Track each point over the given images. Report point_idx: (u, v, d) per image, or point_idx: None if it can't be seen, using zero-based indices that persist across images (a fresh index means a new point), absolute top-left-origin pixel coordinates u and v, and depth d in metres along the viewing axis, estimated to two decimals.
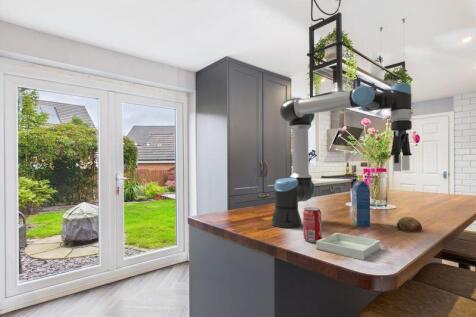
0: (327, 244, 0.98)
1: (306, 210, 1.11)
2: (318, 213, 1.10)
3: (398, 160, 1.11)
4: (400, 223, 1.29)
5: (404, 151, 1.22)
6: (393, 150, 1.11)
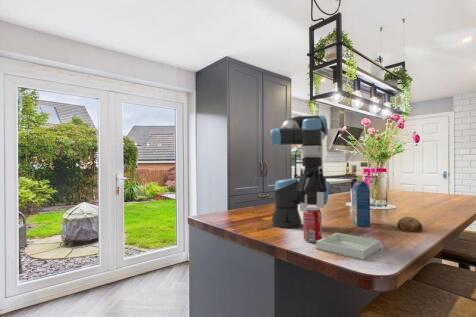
0: (327, 244, 0.98)
1: None
2: (318, 213, 1.10)
3: (304, 199, 1.07)
4: (400, 223, 1.29)
5: (318, 187, 1.17)
6: (297, 189, 1.06)
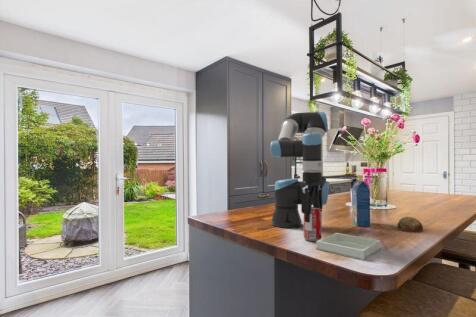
0: (327, 244, 0.98)
1: None
2: (319, 212, 1.11)
3: (309, 219, 1.10)
4: (401, 223, 1.29)
5: (315, 205, 1.15)
6: (303, 210, 1.09)
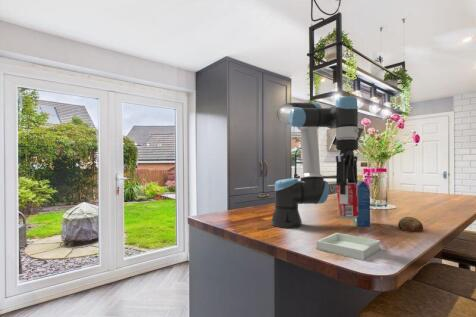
0: (327, 244, 0.98)
1: None
2: (356, 187, 1.00)
3: (345, 191, 0.98)
4: (401, 223, 1.29)
5: (349, 177, 1.04)
6: (338, 180, 0.98)
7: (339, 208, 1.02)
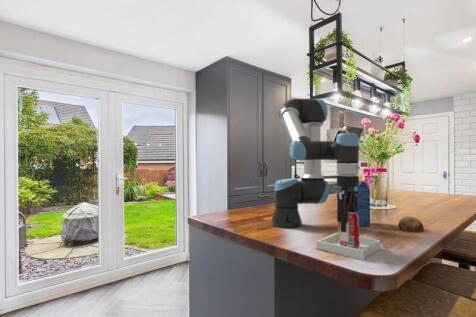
0: (327, 244, 0.98)
1: None
2: (357, 216, 1.00)
3: (345, 228, 0.98)
4: (402, 223, 1.29)
5: None
6: (339, 218, 0.97)
7: None
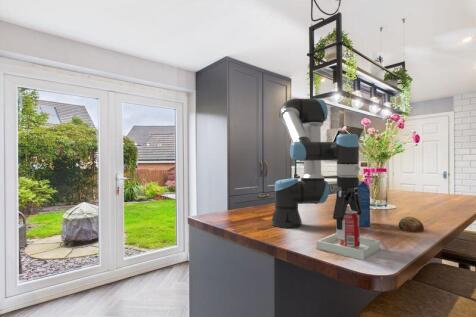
0: (327, 244, 0.98)
1: None
2: (357, 216, 1.00)
3: (341, 226, 0.96)
4: (402, 223, 1.29)
5: (353, 209, 1.06)
6: (335, 215, 0.95)
7: None
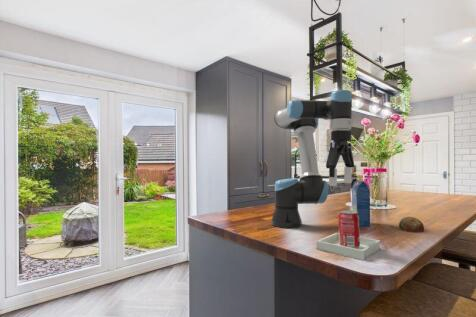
0: (327, 244, 0.98)
1: (344, 213, 1.00)
2: (357, 216, 1.00)
3: (334, 174, 1.04)
4: (402, 223, 1.29)
5: (346, 162, 1.14)
6: (328, 163, 1.03)
7: (340, 237, 1.01)
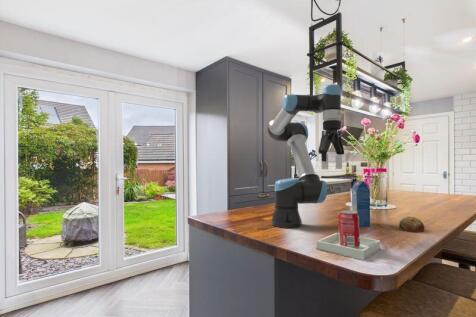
0: (327, 244, 0.98)
1: (344, 214, 1.00)
2: (357, 217, 1.00)
3: (325, 158, 1.16)
4: (402, 223, 1.29)
5: (337, 150, 1.26)
6: (320, 149, 1.15)
7: (340, 237, 1.01)
